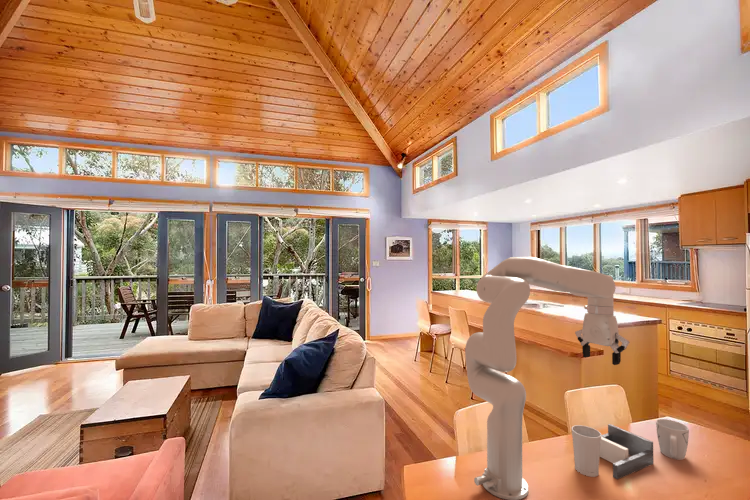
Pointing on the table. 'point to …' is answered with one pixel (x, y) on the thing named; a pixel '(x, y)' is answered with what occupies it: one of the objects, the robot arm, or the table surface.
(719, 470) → the table surface
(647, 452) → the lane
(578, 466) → the cup
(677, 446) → the mug
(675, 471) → the table surface
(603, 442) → the pusher plate
